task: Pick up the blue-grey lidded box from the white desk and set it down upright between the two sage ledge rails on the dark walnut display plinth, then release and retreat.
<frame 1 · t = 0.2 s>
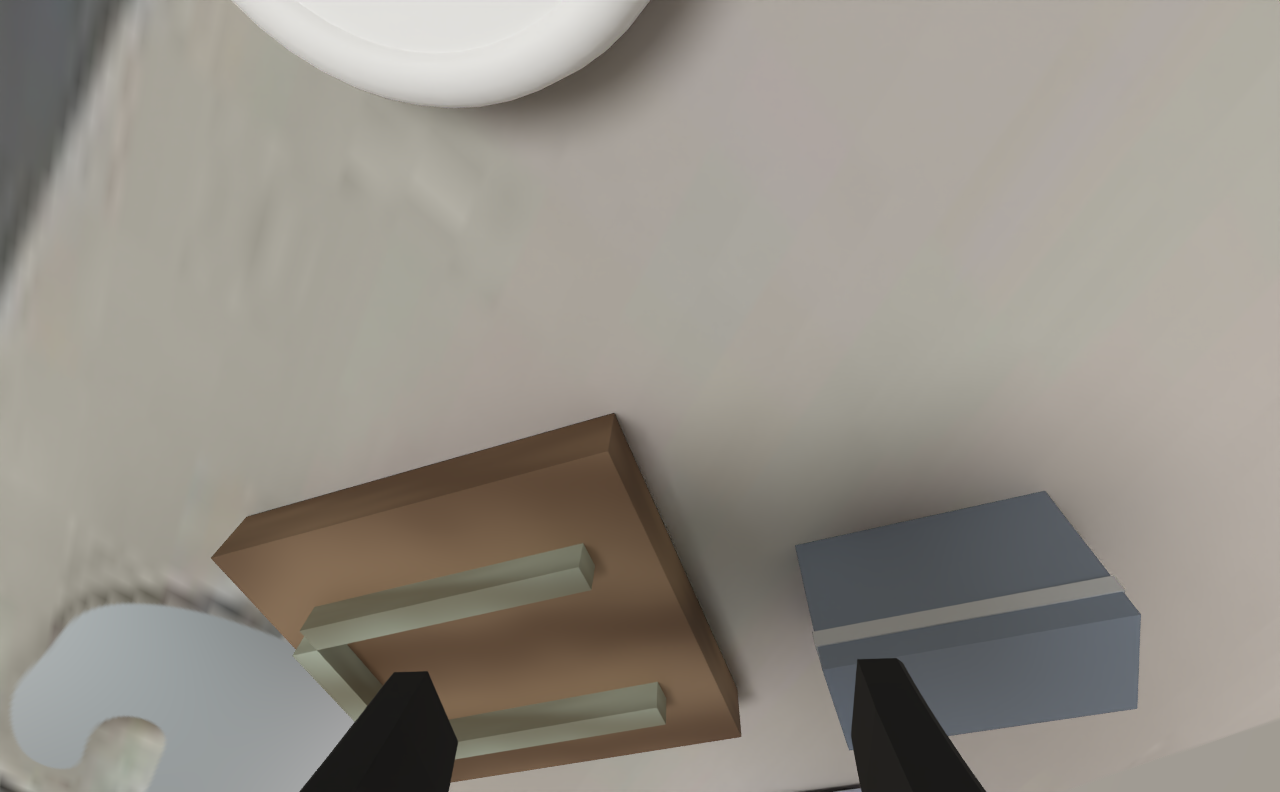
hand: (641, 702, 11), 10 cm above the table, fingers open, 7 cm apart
blue-grey lidded box: (921, 559, 22), on the table
display plinth: (509, 609, 24), on the table
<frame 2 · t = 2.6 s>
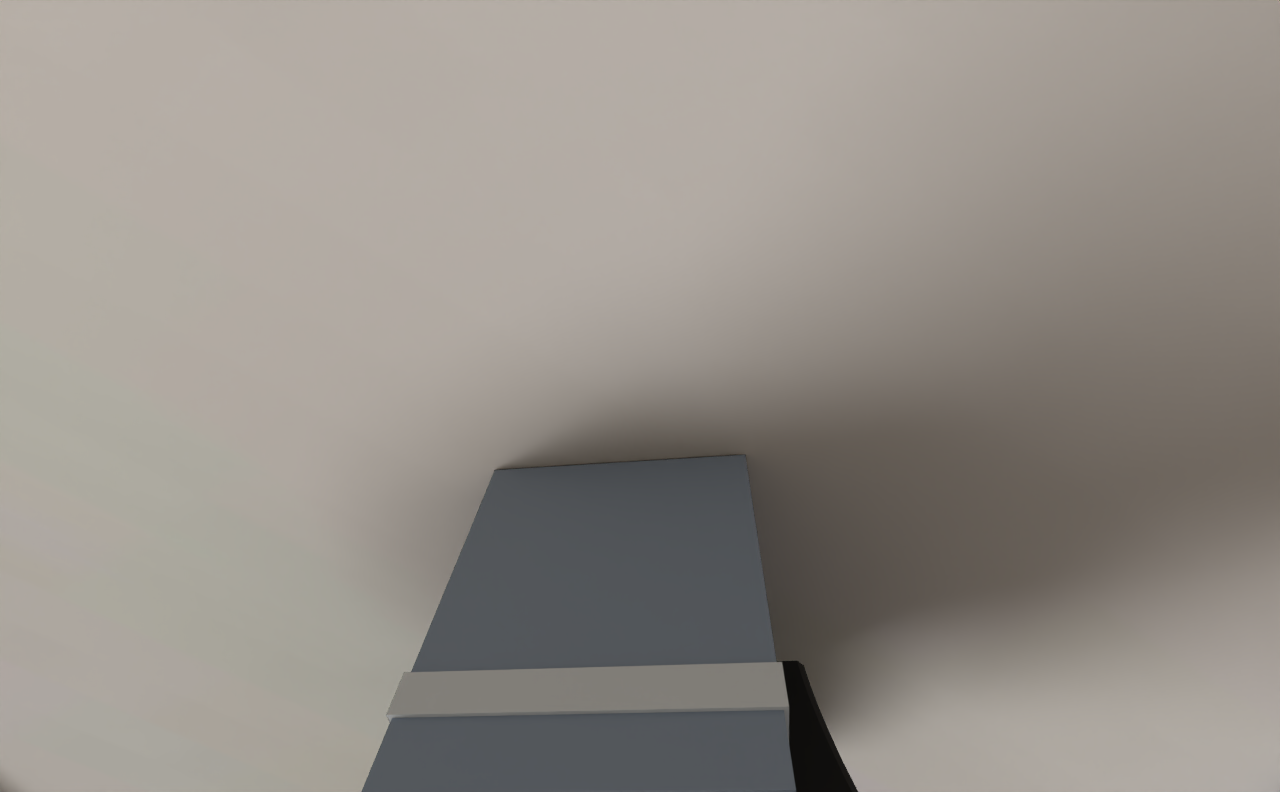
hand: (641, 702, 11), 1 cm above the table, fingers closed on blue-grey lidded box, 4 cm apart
blue-grey lidded box: (645, 633, 12), on the table, touching gripper
when the fingers open (4 cm above the table, at t = 5.9 s): blue-grey lidded box stays where it is, resting on display plinth.
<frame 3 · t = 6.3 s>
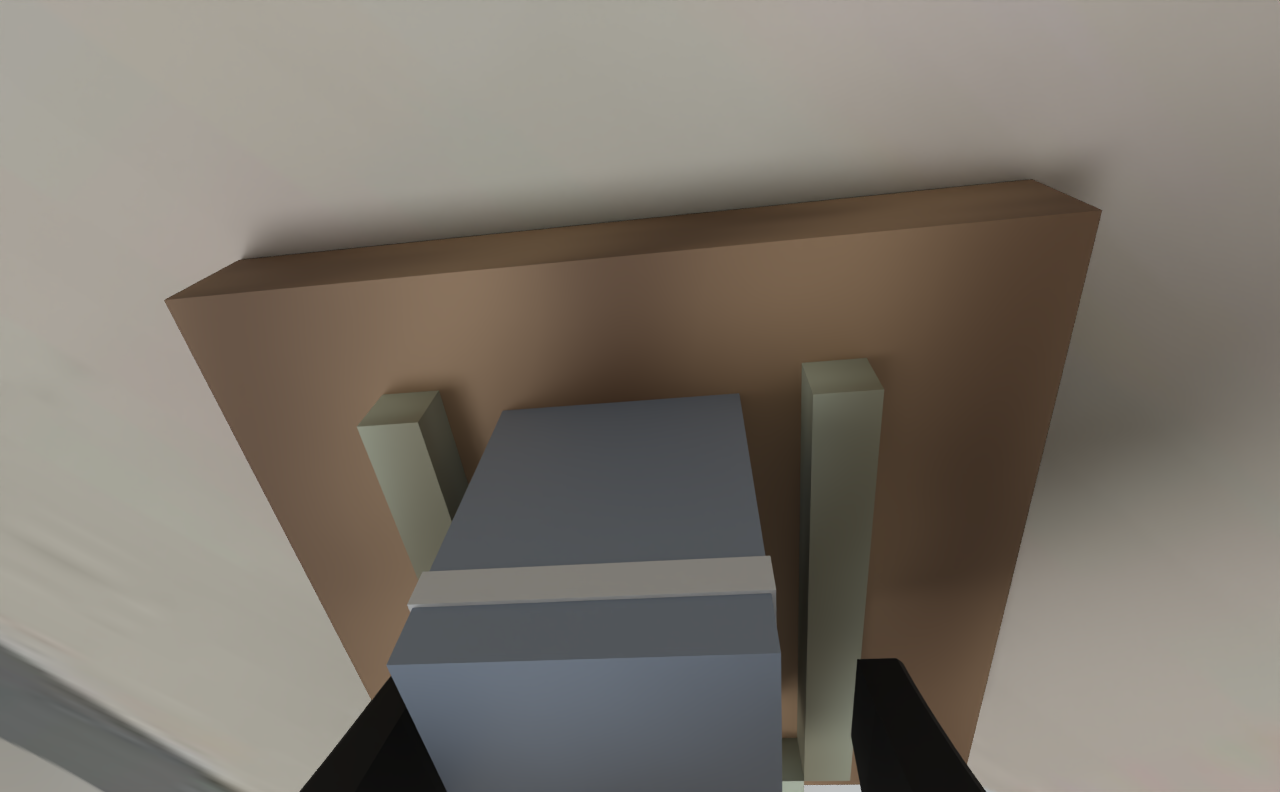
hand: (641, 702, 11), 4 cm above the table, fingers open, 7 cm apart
blue-grey lidded box: (645, 574, 13), point 2 cm above the table, touching display plinth
display plinth: (651, 526, 15), on the table
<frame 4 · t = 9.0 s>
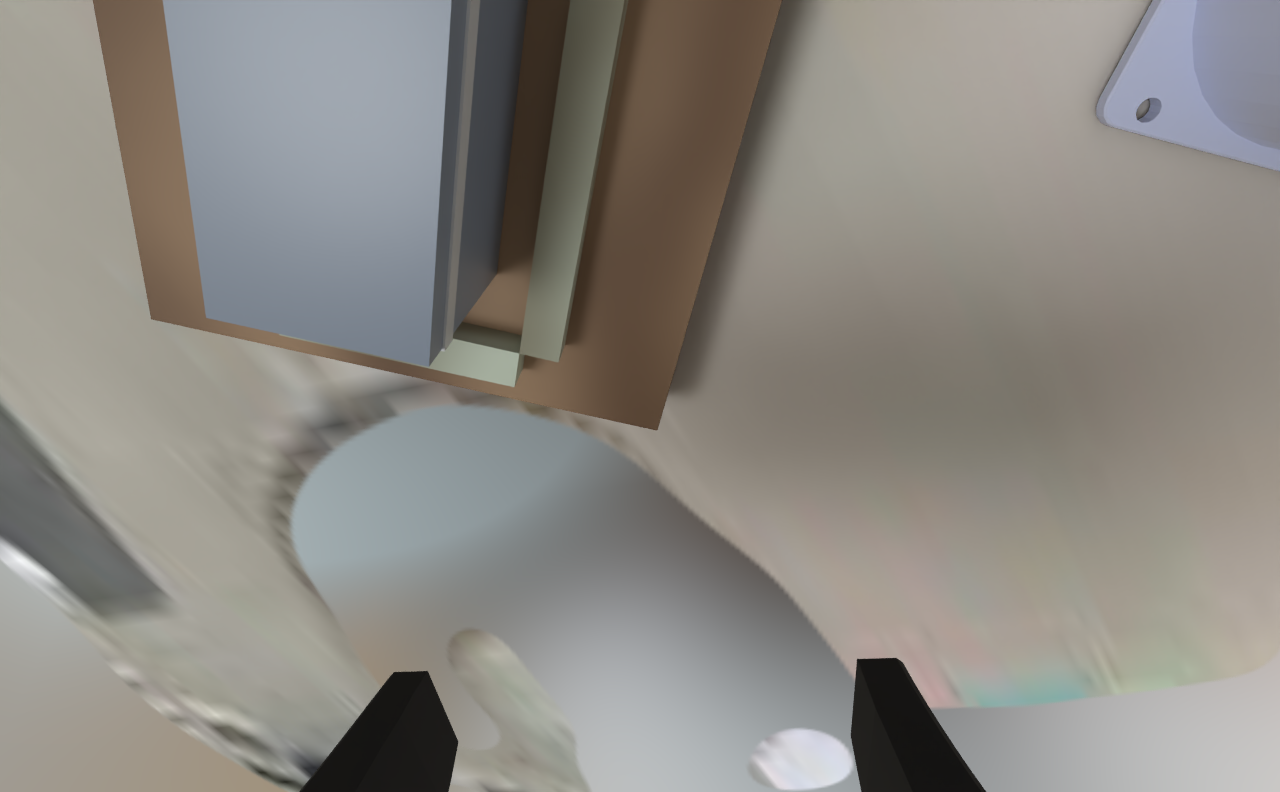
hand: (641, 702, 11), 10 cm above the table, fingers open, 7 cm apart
blue-grey lidded box: (425, 81, 14), point 2 cm above the table, touching display plinth
display plinth: (451, 97, 16), on the table
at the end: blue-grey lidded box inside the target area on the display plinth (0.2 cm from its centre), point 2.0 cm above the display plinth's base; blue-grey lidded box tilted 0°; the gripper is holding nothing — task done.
